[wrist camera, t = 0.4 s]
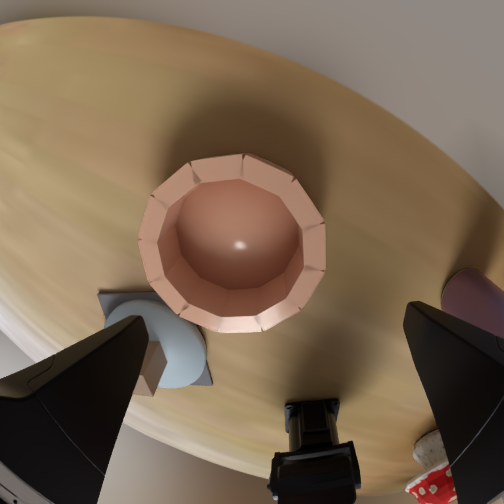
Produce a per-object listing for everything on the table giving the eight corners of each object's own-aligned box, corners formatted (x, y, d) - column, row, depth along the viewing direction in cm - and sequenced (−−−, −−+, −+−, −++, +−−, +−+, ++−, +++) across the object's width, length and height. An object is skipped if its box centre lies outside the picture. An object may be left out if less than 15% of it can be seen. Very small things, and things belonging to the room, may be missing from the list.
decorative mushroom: (473, 417, 32) (499, 474, 18) (422, 457, 37) (438, 513, 23) (439, 411, 31) (469, 485, 17) (380, 456, 35) (394, 524, 22)
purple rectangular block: (435, 281, 23) (525, 387, 9) (478, 256, 22) (574, 338, 8) (440, 324, 25) (506, 427, 11) (480, 300, 23) (554, 386, 9)
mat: (213, 383, 29) (212, 385, 28) (134, 377, 30) (133, 379, 29) (188, 290, 25) (187, 292, 24) (99, 292, 25) (97, 294, 25)
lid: (215, 382, 28) (206, 425, 23) (128, 376, 29) (110, 412, 24) (194, 297, 24) (174, 339, 19) (95, 298, 25) (64, 331, 20)
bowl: (315, 292, 24) (324, 326, 19) (180, 300, 25) (163, 333, 20) (309, 147, 20) (321, 148, 15) (154, 166, 21) (124, 173, 16)
